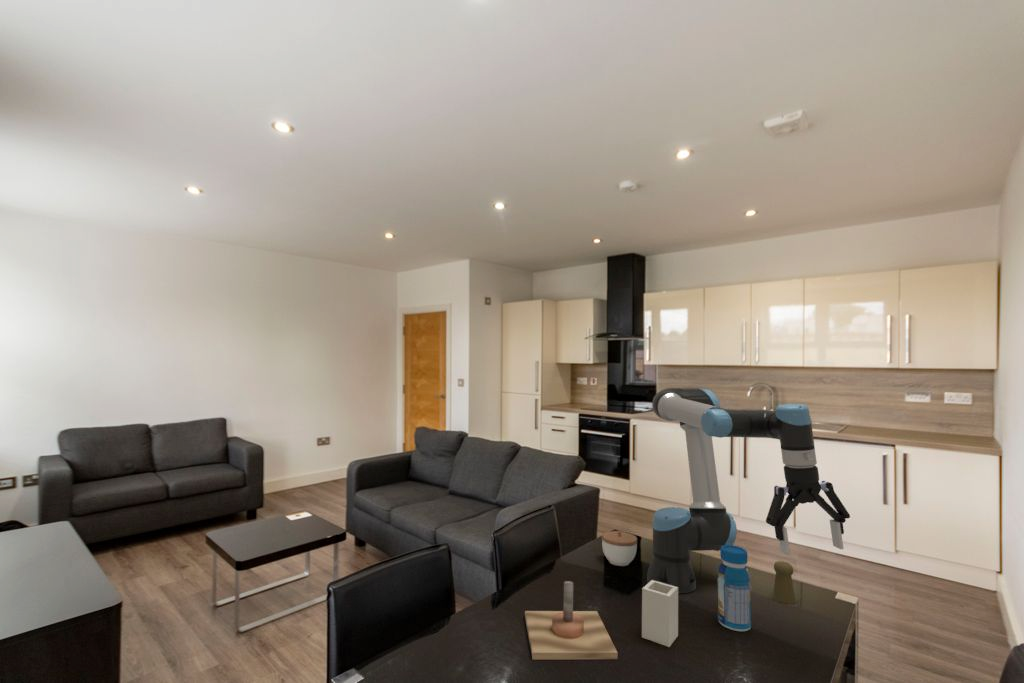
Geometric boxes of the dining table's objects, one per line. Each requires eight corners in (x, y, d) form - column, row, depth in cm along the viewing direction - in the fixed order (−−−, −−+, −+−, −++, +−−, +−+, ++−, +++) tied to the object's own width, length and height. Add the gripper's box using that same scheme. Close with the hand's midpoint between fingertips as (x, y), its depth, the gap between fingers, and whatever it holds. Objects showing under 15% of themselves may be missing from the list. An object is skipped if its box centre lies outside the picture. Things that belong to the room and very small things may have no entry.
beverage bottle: (737, 635, 123) (737, 556, 124) (710, 620, 130) (710, 545, 132) (758, 628, 127) (757, 551, 128) (731, 614, 134) (730, 542, 136)
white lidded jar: (638, 559, 175) (638, 528, 176) (635, 571, 163) (635, 538, 164) (604, 554, 179) (604, 524, 180) (599, 565, 167) (599, 533, 168)
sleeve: (641, 637, 120) (642, 588, 121) (651, 626, 126) (651, 579, 127) (669, 647, 116) (669, 596, 117) (678, 635, 122) (678, 587, 123)
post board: (524, 616, 129) (526, 567, 130) (596, 616, 130) (597, 568, 131) (532, 659, 109) (534, 601, 110) (617, 659, 110) (618, 601, 111)
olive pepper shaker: (798, 605, 141) (798, 567, 142) (776, 602, 142) (776, 565, 143) (791, 596, 147) (790, 560, 148) (770, 594, 148) (769, 558, 149)
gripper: (760, 473, 117) (771, 560, 115) (858, 462, 117) (871, 550, 116) (744, 467, 124) (755, 549, 123) (837, 457, 125) (849, 539, 123)
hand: (812, 550), depth 119 cm, fingers open, 13 cm apart
